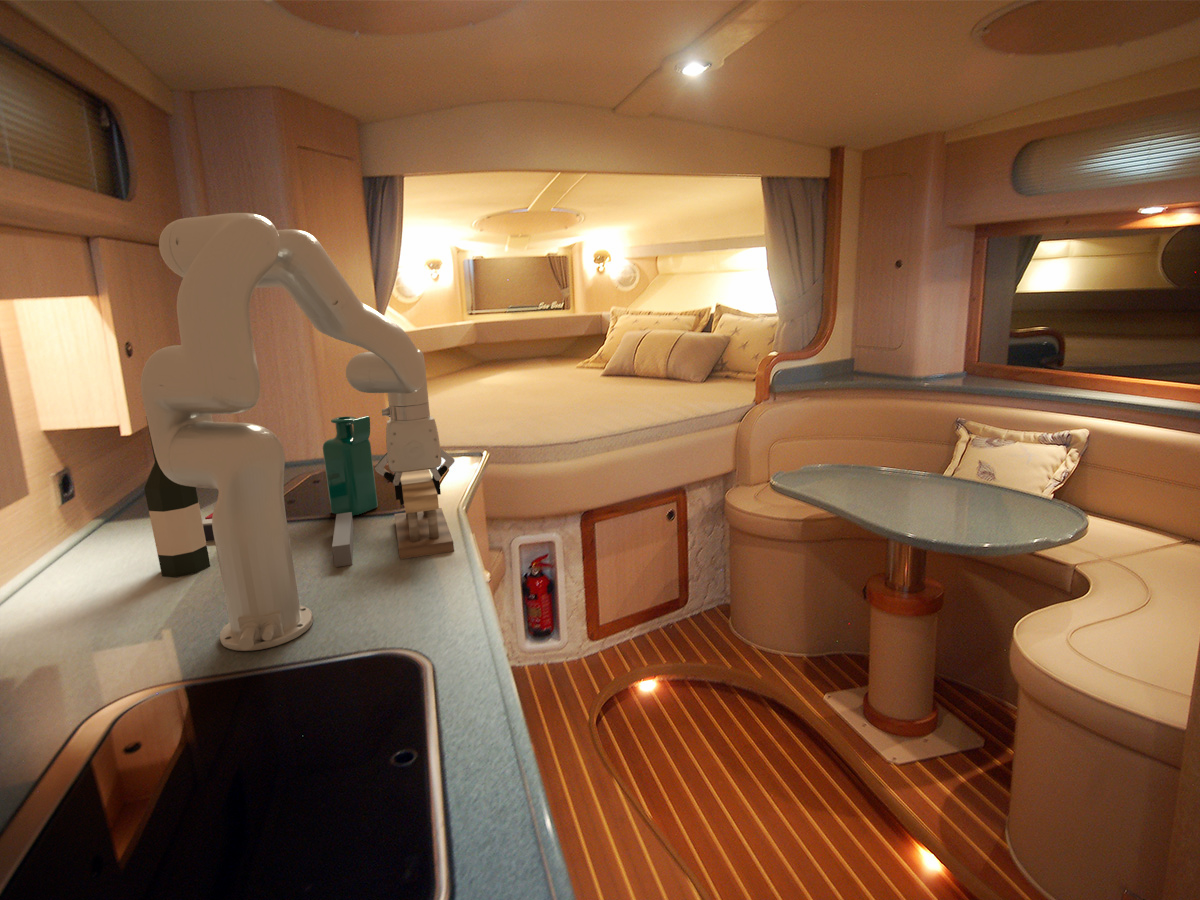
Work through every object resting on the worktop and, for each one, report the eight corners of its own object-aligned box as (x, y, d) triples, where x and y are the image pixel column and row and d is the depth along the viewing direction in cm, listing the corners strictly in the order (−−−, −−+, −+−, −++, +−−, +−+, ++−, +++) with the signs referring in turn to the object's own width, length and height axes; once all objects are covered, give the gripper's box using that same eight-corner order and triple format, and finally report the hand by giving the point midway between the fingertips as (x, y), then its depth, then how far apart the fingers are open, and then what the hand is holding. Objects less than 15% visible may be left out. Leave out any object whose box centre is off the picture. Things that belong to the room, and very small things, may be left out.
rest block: (352, 564, 126) (349, 544, 125) (334, 567, 125) (332, 546, 124) (353, 529, 144) (351, 512, 144) (338, 532, 144) (336, 514, 143)
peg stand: (454, 550, 131) (450, 511, 129) (400, 559, 128) (395, 518, 126) (442, 516, 151) (438, 481, 149) (395, 522, 148) (391, 487, 146)
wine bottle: (151, 579, 123) (117, 415, 116) (172, 561, 131) (141, 407, 124) (201, 575, 124) (170, 412, 117) (218, 557, 132) (190, 404, 125)
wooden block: (438, 509, 128) (437, 493, 127) (405, 513, 126) (404, 497, 125) (428, 479, 148) (427, 466, 148) (400, 483, 147) (398, 469, 146)
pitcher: (327, 513, 156) (314, 419, 151) (354, 502, 163) (343, 412, 158) (359, 518, 152) (347, 421, 147) (386, 507, 159) (375, 414, 154)
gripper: (363, 420, 127) (374, 511, 131) (456, 411, 132) (464, 500, 137) (363, 413, 134) (373, 501, 138) (452, 405, 139) (459, 490, 144)
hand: (418, 499), depth 137 cm, fingers closed on wooden block, 6 cm apart
